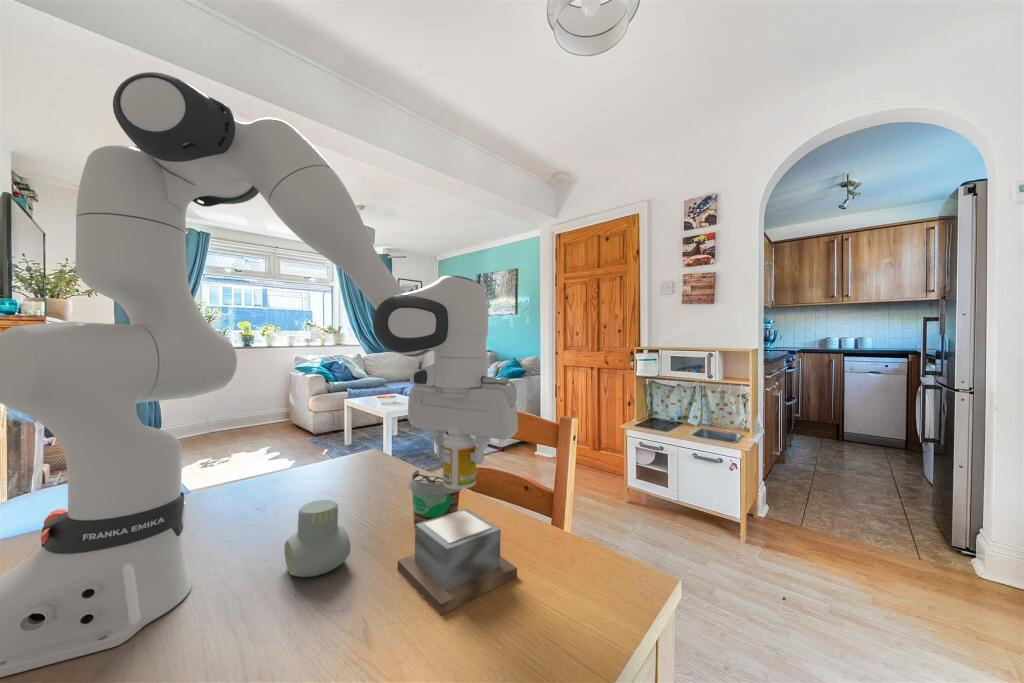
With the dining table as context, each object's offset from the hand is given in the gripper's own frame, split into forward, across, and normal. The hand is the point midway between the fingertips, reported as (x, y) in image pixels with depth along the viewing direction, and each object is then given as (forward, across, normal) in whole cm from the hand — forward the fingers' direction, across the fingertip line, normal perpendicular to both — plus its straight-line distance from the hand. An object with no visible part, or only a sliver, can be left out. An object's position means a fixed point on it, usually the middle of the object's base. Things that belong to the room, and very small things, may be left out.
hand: (459, 459), depth 62 cm
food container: (+18, +15, -10) cm, 26 cm away
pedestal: (+18, 0, 0) cm, 18 cm away
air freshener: (+18, +21, +11) cm, 30 cm away
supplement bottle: (+4, 0, 0) cm, 4 cm away
